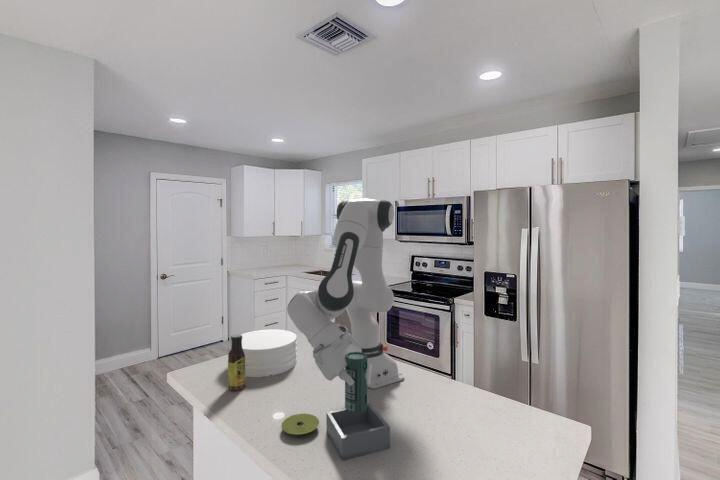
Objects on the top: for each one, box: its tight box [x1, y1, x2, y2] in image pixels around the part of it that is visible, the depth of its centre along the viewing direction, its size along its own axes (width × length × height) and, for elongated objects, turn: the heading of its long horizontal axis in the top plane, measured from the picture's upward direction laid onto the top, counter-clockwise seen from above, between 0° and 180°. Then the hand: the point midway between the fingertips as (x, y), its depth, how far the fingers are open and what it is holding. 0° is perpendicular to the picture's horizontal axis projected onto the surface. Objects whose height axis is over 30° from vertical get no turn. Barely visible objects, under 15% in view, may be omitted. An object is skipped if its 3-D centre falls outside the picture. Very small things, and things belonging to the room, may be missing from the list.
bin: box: [325, 402, 391, 462], centre depth 102 cm, size 14×14×6 cm
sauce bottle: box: [227, 334, 246, 391], centre depth 135 cm, size 7×6×20 cm
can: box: [344, 352, 368, 413], centre depth 102 cm, size 6×6×15 cm
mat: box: [281, 413, 320, 436], centre depth 108 cm, size 11×11×2 cm
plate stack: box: [230, 328, 298, 378], centre depth 159 cm, size 28×28×12 cm
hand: (358, 378), depth 101 cm, fingers closed on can, 6 cm apart
